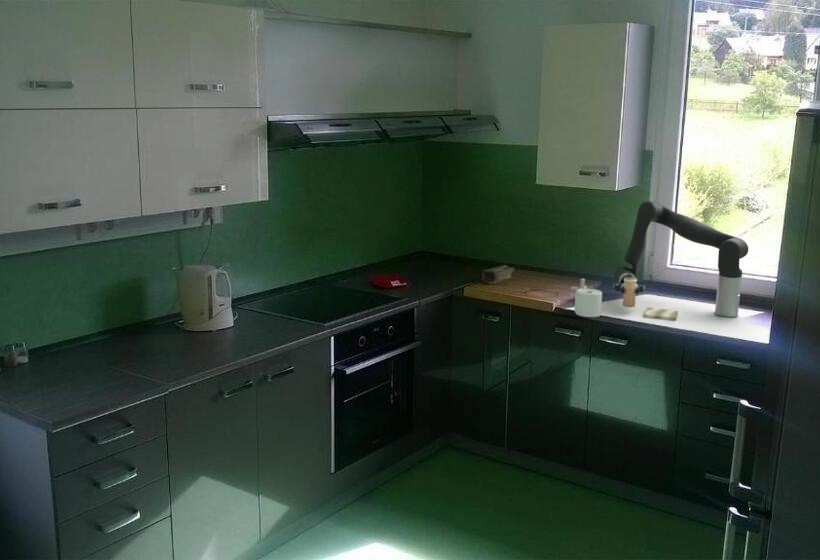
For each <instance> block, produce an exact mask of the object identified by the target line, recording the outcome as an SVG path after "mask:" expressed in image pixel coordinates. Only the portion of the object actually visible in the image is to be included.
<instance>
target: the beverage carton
mask: <svg viewBox="0 0 820 560" xmlns="http://www.w3.org/2000/svg"><path fill="white" fill-rule="evenodd" d="M515 271H516V267H511V266H507V265H506V264H505V265H500V266H496V267H492V268H489V269H488V268H487V269H484V270H481V282H482V281H487V282H497V281H500V280H503V279H507V278H510V277H513V276H514V277H515Z"/></svg>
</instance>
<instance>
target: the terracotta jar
mask: <svg viewBox="0 0 820 560" xmlns="http://www.w3.org/2000/svg"><path fill="white" fill-rule="evenodd" d="M636 282H637V283H638V278H637V279H636V278H624V294H623V297H622V298H623V299H622V300H623V301H622V306H623V307H626V308H635V306H636V295H637V294H636Z"/></svg>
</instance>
